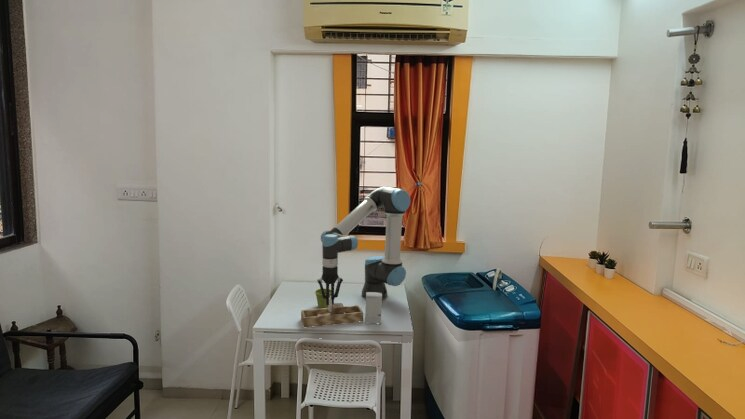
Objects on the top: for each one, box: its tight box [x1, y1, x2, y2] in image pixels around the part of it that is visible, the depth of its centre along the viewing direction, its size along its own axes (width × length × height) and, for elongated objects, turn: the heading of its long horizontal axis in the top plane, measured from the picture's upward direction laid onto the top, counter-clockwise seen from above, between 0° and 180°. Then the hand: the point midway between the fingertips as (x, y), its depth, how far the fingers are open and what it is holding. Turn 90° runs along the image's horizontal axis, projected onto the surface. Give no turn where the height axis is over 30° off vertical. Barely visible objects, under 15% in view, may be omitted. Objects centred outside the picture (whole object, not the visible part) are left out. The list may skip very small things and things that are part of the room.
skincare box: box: [364, 292, 383, 325], centre depth 229 cm, size 8×6×15 cm
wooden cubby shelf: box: [300, 304, 364, 328], centre depth 230 cm, size 30×10×5 cm, turn 106°
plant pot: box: [314, 288, 331, 309], centre depth 248 cm, size 9×9×9 cm
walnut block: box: [330, 302, 344, 315], centre depth 230 cm, size 6×6×5 cm
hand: (329, 310), depth 229 cm, fingers closed
